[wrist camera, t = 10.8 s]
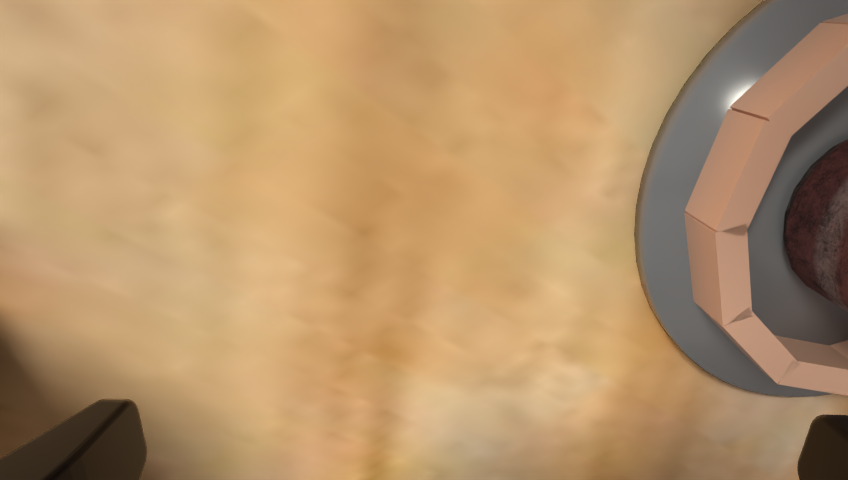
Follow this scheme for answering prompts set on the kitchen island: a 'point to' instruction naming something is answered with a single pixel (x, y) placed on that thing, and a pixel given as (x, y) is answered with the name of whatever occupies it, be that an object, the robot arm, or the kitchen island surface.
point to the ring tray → (768, 217)
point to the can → (821, 226)
